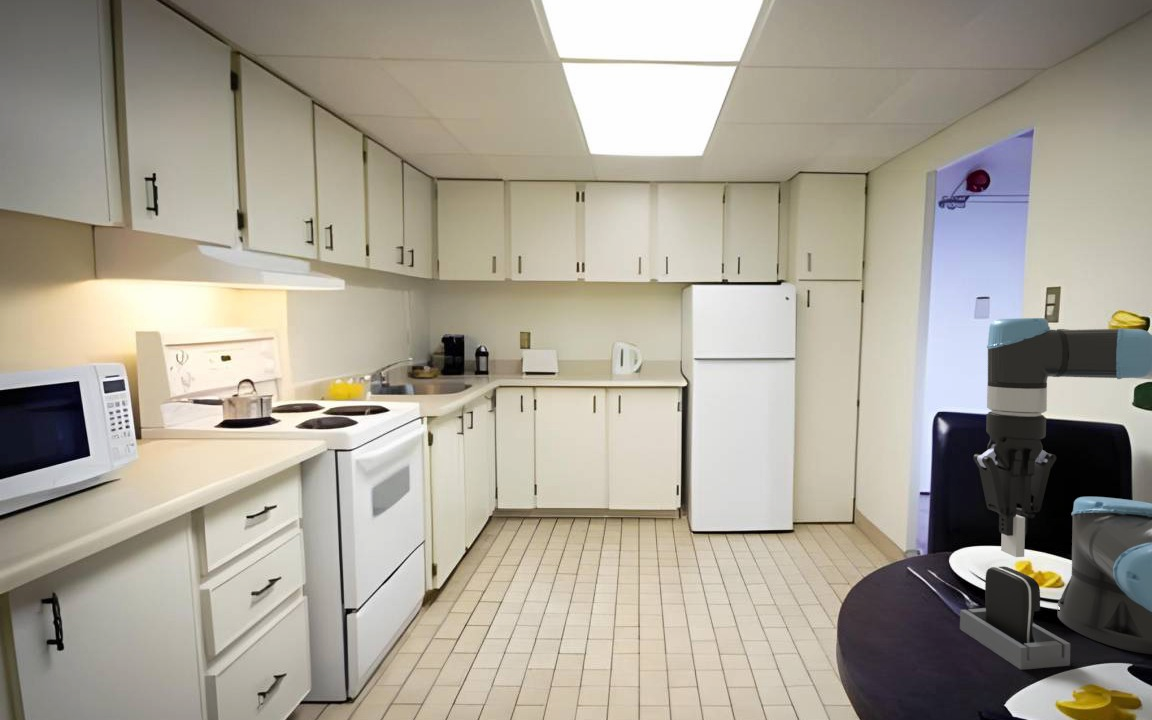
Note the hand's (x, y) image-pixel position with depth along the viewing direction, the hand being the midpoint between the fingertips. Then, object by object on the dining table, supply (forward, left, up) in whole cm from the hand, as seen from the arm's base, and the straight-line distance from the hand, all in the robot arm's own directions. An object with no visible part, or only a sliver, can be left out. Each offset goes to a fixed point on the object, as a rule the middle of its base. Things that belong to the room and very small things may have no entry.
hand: (1012, 553), depth 88 cm
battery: (0, 0, -15) cm, 15 cm away
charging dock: (0, 0, -16) cm, 16 cm away
